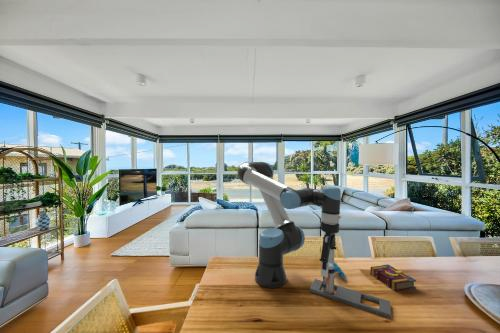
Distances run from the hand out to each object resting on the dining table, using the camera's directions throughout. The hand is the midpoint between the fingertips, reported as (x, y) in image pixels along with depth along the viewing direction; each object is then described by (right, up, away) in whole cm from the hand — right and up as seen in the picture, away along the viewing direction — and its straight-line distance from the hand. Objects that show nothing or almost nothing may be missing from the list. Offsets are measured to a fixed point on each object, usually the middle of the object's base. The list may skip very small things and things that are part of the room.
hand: (327, 269), depth 95 cm
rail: (+7, -10, -4) cm, 13 cm away
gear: (+10, -10, +14) cm, 19 cm away
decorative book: (+34, -11, +10) cm, 37 cm away
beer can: (0, -10, 0) cm, 10 cm away
